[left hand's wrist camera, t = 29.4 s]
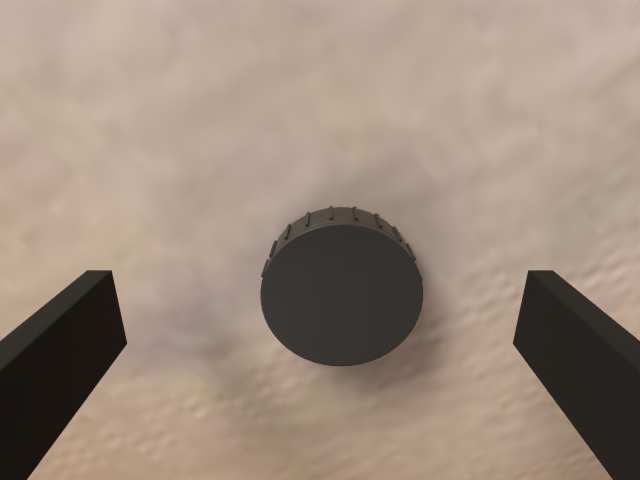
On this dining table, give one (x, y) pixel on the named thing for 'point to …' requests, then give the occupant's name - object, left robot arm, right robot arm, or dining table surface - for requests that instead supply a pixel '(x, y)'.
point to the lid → (341, 287)
